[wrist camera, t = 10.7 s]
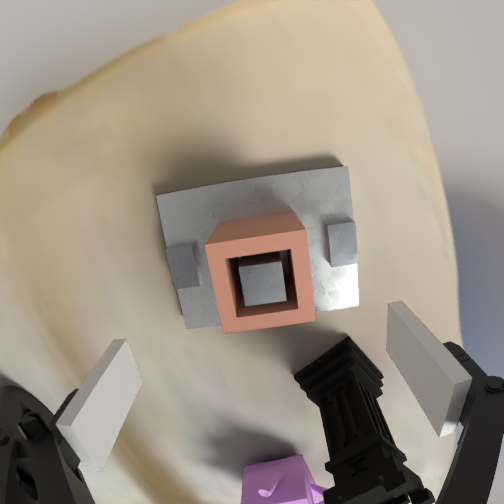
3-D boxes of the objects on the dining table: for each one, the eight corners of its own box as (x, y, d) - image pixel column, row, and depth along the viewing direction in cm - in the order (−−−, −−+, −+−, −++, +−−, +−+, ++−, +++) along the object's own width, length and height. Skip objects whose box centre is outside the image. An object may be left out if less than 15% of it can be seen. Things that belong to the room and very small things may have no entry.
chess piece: (381, 373, 36) (441, 499, 17) (331, 408, 38) (361, 539, 18) (348, 335, 35) (409, 477, 15) (293, 375, 36) (312, 523, 17)
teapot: (218, 476, 43) (212, 530, 32) (260, 434, 39) (260, 497, 29) (297, 497, 44) (301, 545, 34) (345, 459, 41) (358, 513, 31)
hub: (232, 292, 32) (223, 333, 24) (218, 222, 30) (204, 244, 22) (303, 282, 31) (316, 320, 24) (294, 211, 29) (306, 229, 22)
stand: (189, 322, 35) (168, 373, 25) (160, 194, 31) (122, 208, 22) (354, 299, 33) (383, 345, 24) (343, 165, 30) (377, 168, 20)
